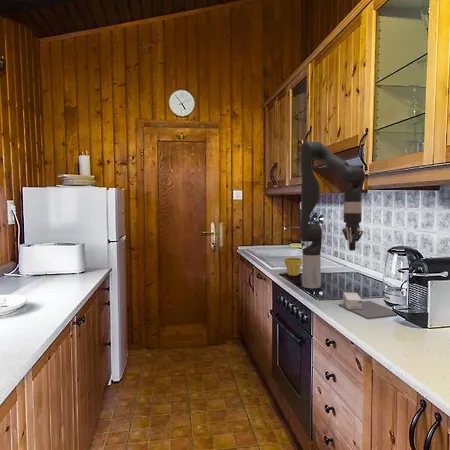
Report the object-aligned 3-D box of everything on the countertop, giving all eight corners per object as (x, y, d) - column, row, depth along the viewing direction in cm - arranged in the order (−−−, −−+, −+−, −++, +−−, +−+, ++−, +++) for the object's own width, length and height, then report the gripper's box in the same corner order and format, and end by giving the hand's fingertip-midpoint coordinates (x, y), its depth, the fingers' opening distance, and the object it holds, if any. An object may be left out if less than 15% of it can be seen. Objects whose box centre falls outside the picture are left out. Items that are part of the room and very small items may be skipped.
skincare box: (343, 301, 170) (346, 310, 158) (343, 291, 169) (346, 299, 157) (357, 301, 168) (362, 310, 157) (357, 291, 168) (362, 300, 156)
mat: (338, 305, 166) (338, 304, 166) (370, 302, 170) (370, 300, 170) (367, 319, 146) (367, 317, 146) (402, 315, 151) (402, 313, 151)
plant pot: (281, 274, 233) (281, 259, 232) (290, 272, 240) (290, 256, 240) (296, 277, 226) (295, 260, 225) (305, 274, 233) (305, 258, 233)
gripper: (336, 211, 176) (336, 249, 177) (354, 212, 163) (353, 252, 164) (351, 211, 178) (350, 248, 179) (369, 212, 165) (368, 251, 166)
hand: (352, 250), depth 171 cm, fingers closed
